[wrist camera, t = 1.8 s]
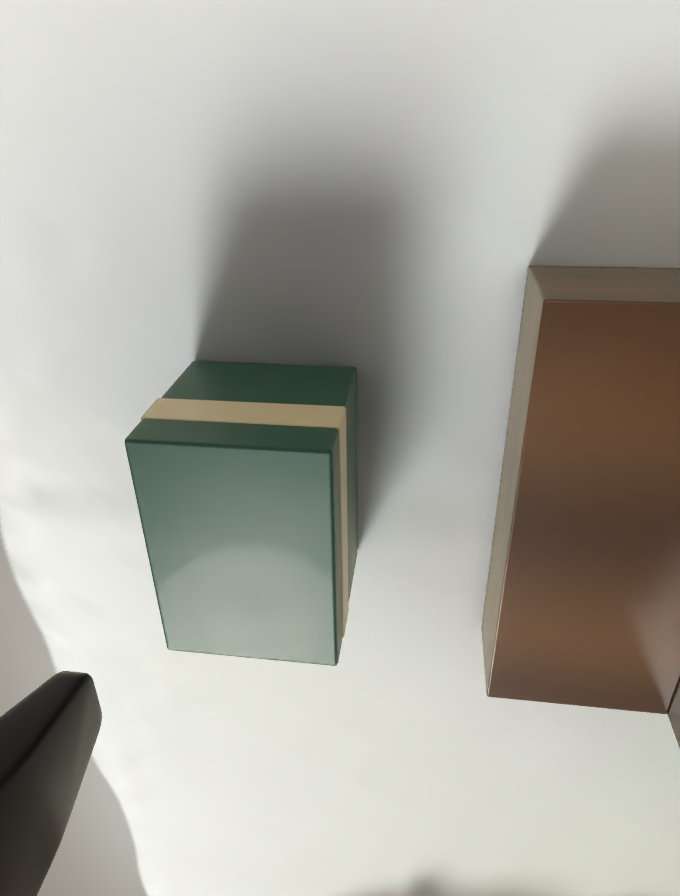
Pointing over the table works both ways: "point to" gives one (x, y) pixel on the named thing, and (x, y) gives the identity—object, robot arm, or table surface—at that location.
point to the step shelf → (590, 497)
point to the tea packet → (251, 508)
